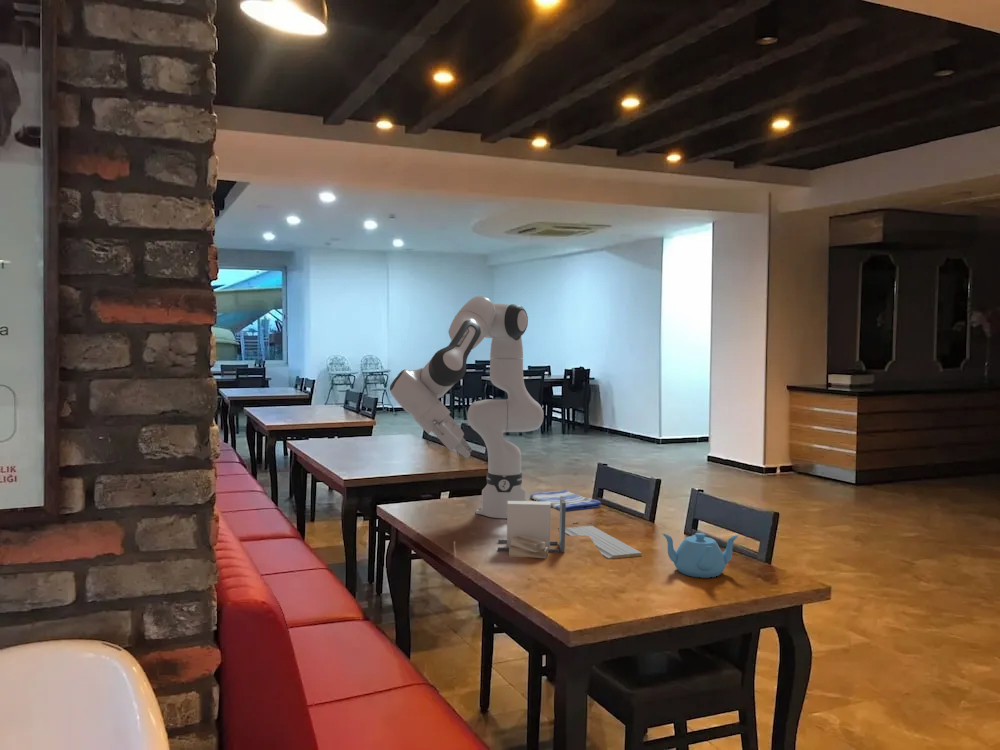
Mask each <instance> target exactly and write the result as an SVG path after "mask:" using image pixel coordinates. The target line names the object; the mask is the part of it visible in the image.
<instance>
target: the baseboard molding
mask: <svg viewBox="0 0 1000 750" xmlns="http://www.w3.org/2000/svg"><path fill="white" fill-rule="evenodd" d="M588 524H591V525H584V526H583V525H582V526H579V525H580V522H572V525H578V526H572V527H565V535H567V536H570V537H571V536H574V537H577V536H587V537H589V538H590V540H591V541H592V542H593V544H594V545H595V547H596V548H597V549H598V551H599V552H600V553H601V555H602V557H604V558H606V559H607V560H612V559H614V560H615V559H622V558H634V557H641V556H643V552H641V551H639V550H638V549H636V548H634V547H632V546H630V545H629V544H626V543H624V542H623V541H621V540H619V539H618V538H616V537H613V536H612V535H609V534H608V533H606V532H605V531H603V530H601V529H599V528H597V527H595V526H593V525H592V524H593V523H592V522H590V523H588ZM557 529H558V532H559V529H560V527H559V528H557Z"/></svg>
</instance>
